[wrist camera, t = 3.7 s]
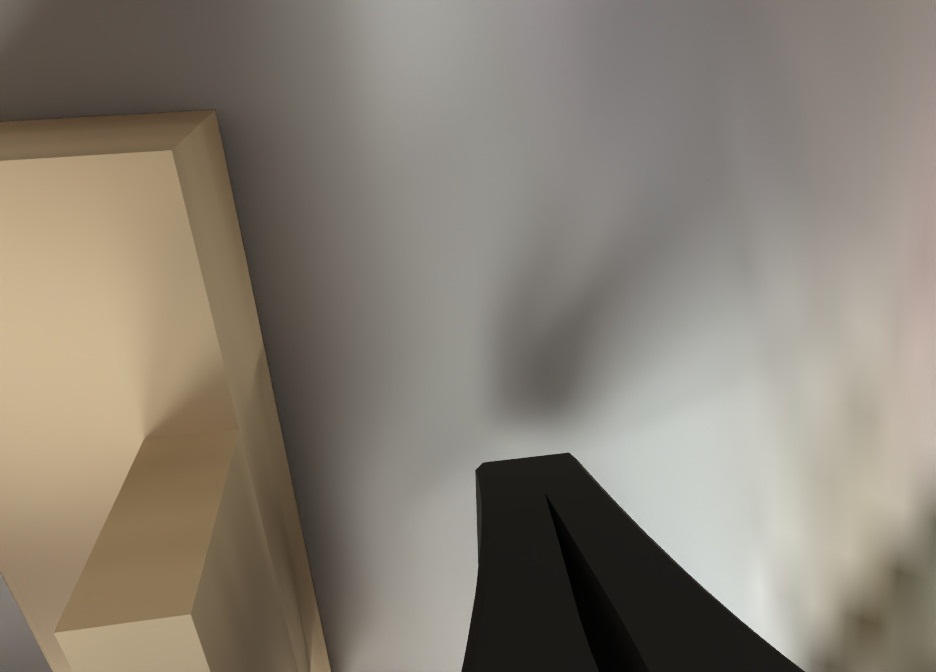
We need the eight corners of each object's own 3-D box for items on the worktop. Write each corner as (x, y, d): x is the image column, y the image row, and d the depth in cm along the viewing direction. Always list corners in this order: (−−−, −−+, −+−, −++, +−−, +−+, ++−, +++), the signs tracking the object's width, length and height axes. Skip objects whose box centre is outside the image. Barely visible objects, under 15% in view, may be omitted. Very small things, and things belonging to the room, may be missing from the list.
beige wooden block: (337, 703, 13) (327, 1013, 9) (176, 727, 12) (94, 1062, 9) (214, 109, 8) (66, 249, 4) (-72, 124, 7) (-561, 298, 3)
